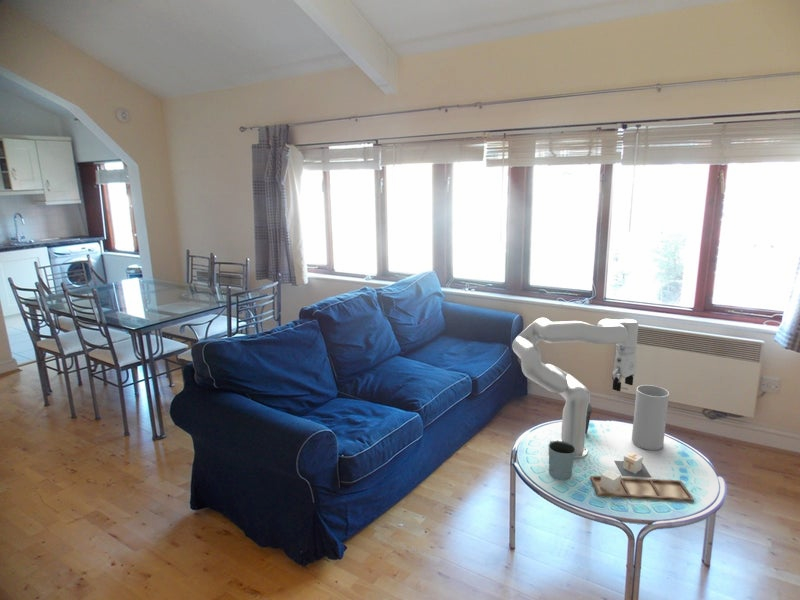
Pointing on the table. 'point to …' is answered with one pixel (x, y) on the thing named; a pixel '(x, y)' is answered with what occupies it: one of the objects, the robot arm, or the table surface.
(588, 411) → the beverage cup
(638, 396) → the cylinder vase
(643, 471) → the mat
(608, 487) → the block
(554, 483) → the table surface
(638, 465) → the letter block
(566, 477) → the grey green pot
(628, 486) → the tray board
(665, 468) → the table surface
